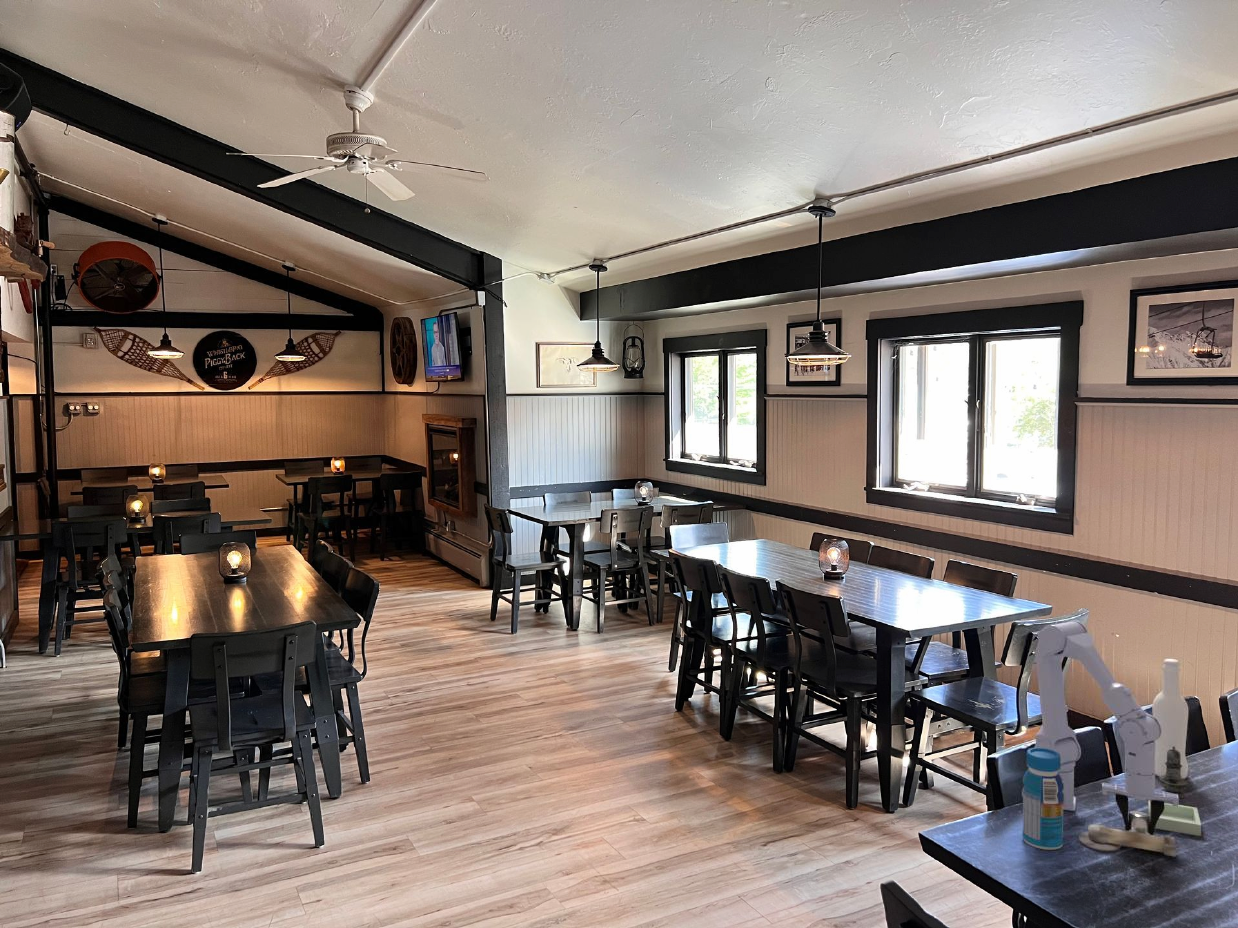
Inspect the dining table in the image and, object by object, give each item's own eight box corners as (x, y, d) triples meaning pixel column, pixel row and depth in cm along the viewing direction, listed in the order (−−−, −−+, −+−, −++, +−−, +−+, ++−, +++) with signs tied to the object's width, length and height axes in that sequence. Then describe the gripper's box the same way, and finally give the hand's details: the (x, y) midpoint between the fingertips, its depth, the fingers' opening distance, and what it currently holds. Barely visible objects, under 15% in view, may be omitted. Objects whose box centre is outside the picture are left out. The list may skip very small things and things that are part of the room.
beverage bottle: (1015, 842, 197) (1016, 753, 196) (1029, 829, 204) (1029, 742, 202) (1056, 855, 192) (1057, 763, 190) (1069, 840, 198) (1070, 751, 197)
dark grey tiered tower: (1179, 789, 223) (1180, 741, 222) (1192, 799, 217) (1193, 750, 216) (1154, 788, 224) (1155, 741, 223) (1166, 798, 218) (1167, 750, 217)
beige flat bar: (1088, 840, 196) (1088, 831, 196) (1088, 830, 200) (1088, 822, 200) (1175, 856, 188) (1175, 847, 188) (1173, 846, 192) (1173, 837, 192)
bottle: (1143, 769, 235) (1145, 656, 234) (1173, 767, 236) (1174, 654, 234) (1165, 781, 227) (1167, 664, 226) (1195, 780, 228) (1197, 663, 226)
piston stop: (1128, 839, 198) (1129, 816, 198) (1128, 831, 202) (1128, 809, 201) (1149, 842, 196) (1150, 820, 196) (1148, 835, 200) (1149, 813, 199)
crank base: (1078, 846, 195) (1078, 843, 195) (1079, 830, 202) (1079, 827, 202) (1120, 854, 191) (1120, 851, 191) (1120, 838, 199) (1120, 835, 199)
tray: (1150, 827, 203) (1150, 816, 203) (1148, 810, 212) (1148, 799, 212) (1200, 835, 199) (1201, 824, 199) (1196, 818, 207) (1196, 807, 207)
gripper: (1102, 771, 198) (1101, 831, 199) (1180, 783, 191) (1179, 845, 192) (1102, 760, 204) (1101, 818, 205) (1177, 770, 197) (1176, 831, 198)
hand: (1139, 830), depth 199 cm, fingers closed on piston stop, 4 cm apart
